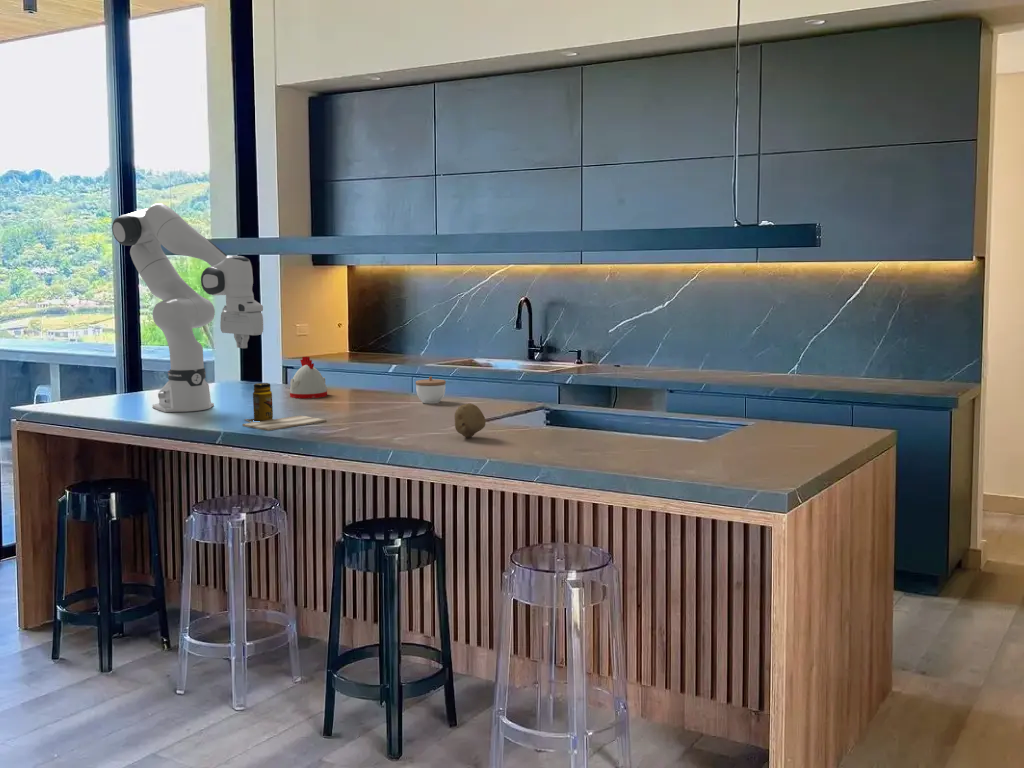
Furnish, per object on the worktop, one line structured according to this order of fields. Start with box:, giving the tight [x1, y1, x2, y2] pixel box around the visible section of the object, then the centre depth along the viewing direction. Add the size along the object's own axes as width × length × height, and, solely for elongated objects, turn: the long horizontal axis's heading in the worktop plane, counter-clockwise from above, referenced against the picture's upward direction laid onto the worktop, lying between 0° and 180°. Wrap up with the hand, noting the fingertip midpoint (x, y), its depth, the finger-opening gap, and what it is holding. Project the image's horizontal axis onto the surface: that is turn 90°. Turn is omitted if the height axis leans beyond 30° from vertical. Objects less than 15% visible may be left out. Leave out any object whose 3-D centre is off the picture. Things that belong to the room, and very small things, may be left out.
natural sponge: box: [454, 402, 487, 439], centre depth 302 cm, size 9×9×10 cm
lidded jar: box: [415, 375, 447, 405], centre depth 373 cm, size 11×11×9 cm
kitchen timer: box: [289, 356, 328, 399], centre depth 395 cm, size 14×14×15 cm
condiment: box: [244, 382, 274, 423], centre depth 338 cm, size 7×8×12 cm
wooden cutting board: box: [242, 415, 327, 431], centre depth 331 cm, size 14×22×1 cm, turn 137°
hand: (242, 347), depth 342 cm, fingers closed
